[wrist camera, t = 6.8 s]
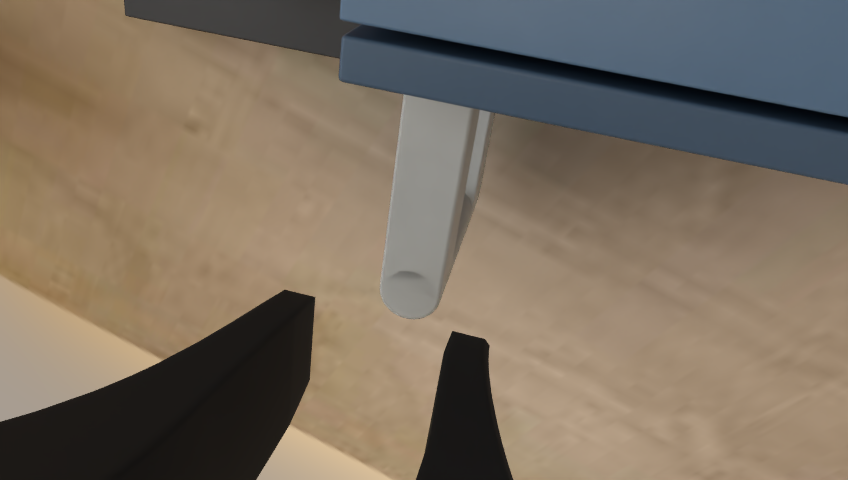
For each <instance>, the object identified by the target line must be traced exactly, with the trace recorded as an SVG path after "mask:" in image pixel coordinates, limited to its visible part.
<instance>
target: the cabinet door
mask: <svg viewBox="0 0 848 480" xmlns="http://www.w3.org/2000/svg"><path fill="white" fill-rule="evenodd" d="M339 80H340V81H342V82H345V83H350V84H355V85H360V86H365V87H370V88H375V89H380V90H384V91H389V92H394V93H399V94H404V95H403V103H402V111H401V119H400V127H399V136H398V144H397V152H396V160H395V168H394V176H393V184H392V192H391V200H390V208H389V216H388V225H387V233H386V241H385V249H384V257H383V265H382V273H381V281H380V293H381V297H382V300H383V302H384V303H385V305H386V306H387V307H388V308H389V309H390V310H391V311H392V312H393V313H395V314H396V315H398V316H401V317H403V318H407V319H420V318H424V317H426V316H428V315H430V314H431V313H433V312H434V311H435V310H436V308H437V307H438V305H439V303H440V300H441V297H442V294H443V292H444V289H445V286H446V284H447V281H448V278H449V276H450V273H451V270H452V267H453V265H454V262H455V259H456V257H457V254H458V251H459V249H460V246H461V243H462V240H463V238H464V235H465V232H466V230H467V227H468V224H469V222H470V219H471V216H472V213H473V211H474V208H475V205H476V203H477V200H478V197H479V193H480V188H481V183H482V178H483V173H484V167H485V162H486V157H487V152H488V147H489V142H490V137H491V132H492V126H493V121H494V116H495V113H497V114H502V115H507V116H512V117H517V118H522V119H527V120H532V121H537V122H542V123H547V124H551V125H556V126H561V127H566V128H571V129H576V130H581V131H586V132H591V133H596V134H601V135H606V136H610V137H615V138H620V139H625V140H630V141H635V142H640V143H645V144H650V145H655V146H660V147H664V148H669V149H674V150H679V151H684V152H689V153H694V154H699V155H704V156H709V157H714V158H719V159H723V160H728V161H733V162H738V163H743V164H748V165H753V166H758V167H763V168H768V169H773V170H777V171H782V172H787V173H792V174H797V175H802V176H807V177H812V178H817V179H822V180H827V181H831V182H836V183H841V184H846V185H848V117H843V116H837V115H832V114H827V113H822V112H817V111H811V110H806V109H801V108H796V107H791V106H785V105H780V104H775V103H770V102H764V101H759V100H754V99H749V98H744V97H738V96H733V95H728V94H723V93H717V92H712V91H707V90H702V89H697V88H691V87H686V86H681V85H676V84H670V83H665V82H660V81H655V80H650V79H644V78H639V77H634V76H629V75H623V74H618V73H613V72H608V71H603V70H597V69H592V68H587V67H582V66H576V65H571V64H566V63H561V62H556V61H550V60H545V59H540V58H535V57H529V56H524V55H519V54H514V53H509V52H503V51H498V50H493V49H488V48H482V47H477V46H472V45H467V44H462V43H456V42H451V41H446V40H441V39H436V38H430V37H425V36H420V35H415V34H409V33H404V32H399V31H394V30H389V29H383V28H378V27H373V26H368V25H362V24H361V25H359V26H358V27H356V28H355V29H353V30H351V31H350V32H348V33H346V34H345V35H343V37H342V39H341V52H340V66H339Z"/></svg>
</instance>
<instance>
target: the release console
mask: <svg viewBox="0 0 848 480" xmlns="http://www.w3.org/2000/svg"><path fill="white" fill-rule="evenodd" d="M124 5H125V15H126V16H129V17H134V18H139V19H144V20H149V21H154V22H159V23H164V24H169V25H174V26H179V27H184V28H189V29H194V30H199V31H204V32H209V33H214V34H219V35H224V36H229V37H234V38H239V39H244V40H249V41H254V42H259V43H264V44H269V45H274V46H279V47H284V48H289V49H294V50H299V51H304V52H309V53H314V54H319V55H324V56H329V57H334V58H339V59H340V52H341V39H342V37H343V35H345V34H346V33H348V32H350V31H351V30H353V29H355V28H356V27H358V26H359V25H361V24H357V23H352V22H347V21H342V20H341V19H340V5H341V0H124Z"/></svg>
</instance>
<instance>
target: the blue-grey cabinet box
mask: <svg viewBox="0 0 848 480" xmlns="http://www.w3.org/2000/svg"><path fill="white" fill-rule="evenodd" d="M340 19H341V20H342V21H347V22H352V23H357V24H362V25H368V26H373V27H378V28H383V29H389V30H394V31H399V32H404V33H409V34H415V35H420V36H425V37H430V38H436V39H441V40H446V41H451V42H456V43H462V44H467V45H472V46H477V47H482V48H488V49H493V50H498V51H503V52H509V53H514V54H519V55H524V56H529V57H535V58H540V59H545V60H550V61H556V62H561V63H566V64H571V65H576V66H582V67H587V68H592V69H597V70H603V71H608V72H613V73H618V74H623V75H629V76H634V77H639V78H644V79H650V80H655V81H660V82H665V83H670V84H676V85H681V86H686V87H691V88H697V89H702V90H707V91H712V92H717V93H723V94H728V95H733V96H738V97H744V98H749V99H754V100H759V101H764V102H770V103H775V104H780V105H785V106H791V107H796V108H801V109H806V110H811V111H817V112H822V113H827V114H832V115H837V116H843V117H848V0H341V5H340Z"/></svg>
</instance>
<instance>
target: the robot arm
mask: <svg viewBox="0 0 848 480" xmlns="http://www.w3.org/2000/svg"><path fill="white" fill-rule="evenodd" d="M314 306H315V297H312V296H308V295H304V294H300V293H296V292H292V291H288V290H284V291H282V292H280V293H279V294H277V295H275V296H274V297H272V298H270V299H269V300H267V301H265V302H264V303H262V304H260V305H259V306H257V307H256V308H254V309H252V310H251V311H249V312H248V313H246V314H244V315H243V316H241V317H239V318H238V319H236V320H235V321H233V322H231V323H230V324H228V325H226V326H225V327H223V328H221V329H219V330H218V331H216V332H214V333H213V334H211V335H209V336H208V337H206V338H204V339H202V340H201V341H199V342H197V343H195V344H193V345H192V346H190V347H188V348H186V349H184V350H182V351H180V352H178V353H176V354H174V355H173V356H171V357H169V358H167V359H165V360H163V361H161V362H160V363H157V364H155V365H153V366H151V367H149V368H148V369H145V370H143V371H140V372H138V373H136V374H134V375H132V376H129V377H127V378H125V379H122V380H120V381H118V382H115V383H113V384H110V385H108V386H106V387H104V388H101V389H98V390H96V391H93V392H90V393H88V394H85V395H82V396H79V397H76V398H73V399H70V400H68V401H65V402H62V403H59V404H56V405H53V406H50V407H48V408H45V409H42V410H39V411H36V412H32V413H29V414H26V415H22V416H19V417H16V418H12V419H9V420H5V421H2V422H0V480H256V479H257V477H258V476H259V474H260V472H261V471H262V469H263V467H264V466H265V464H266V463H267V461H268V460H269V458H270V456H271V455H272V453H273V451H274V450H275V448H276V446H277V445H278V443H279V441H280V440H281V438H282V436H283V435H284V433H285V431H286V430H287V428H288V426H289V425H290V422H291V420H292V418H293V416H294V414H295V412H296V410H297V407H298V405H299V403H300V401H301V398H302V396H303V394H304V392H305V389H306V387H307V385H308V382H309V380H310V366H311V351H312V336H313V321H314ZM488 358H489V344H488V343H487V341H486V340H485V339H482V338H478V337H474V336H470V335H466V334H462V333H458V332H454V331H452V333H451V336H450V338H449V341H448V343H447V346H446V349H445V351H444V355H443V360H442V365H441V370H440V376H439V381H438V386H437V391H436V397H435V402H434V407H433V412H432V418H431V423H430V428H429V433H428V439H427V444H426V449H425V454H424V457H423V460H422V463H421V466H420V469H419V472H418V475H417V478H416V480H513V478H512V475H511V472H510V468H509V465H508V462H507V459H506V455H505V452H504V448H503V445H502V441H501V437H500V433H499V429H498V424H497V419H496V415H495V410H494V405H493V400H492V394H491V386H490V378H489V363H488Z"/></svg>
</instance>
